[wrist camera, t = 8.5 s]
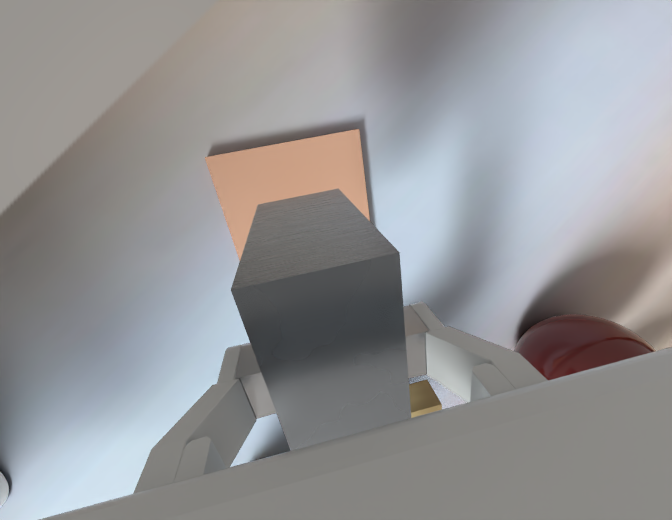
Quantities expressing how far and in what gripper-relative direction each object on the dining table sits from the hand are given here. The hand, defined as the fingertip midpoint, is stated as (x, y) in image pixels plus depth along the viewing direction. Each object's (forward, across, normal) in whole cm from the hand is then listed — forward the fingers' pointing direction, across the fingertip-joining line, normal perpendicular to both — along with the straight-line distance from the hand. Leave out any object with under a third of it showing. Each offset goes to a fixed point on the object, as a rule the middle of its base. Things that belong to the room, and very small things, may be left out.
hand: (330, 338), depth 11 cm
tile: (+17, 0, 0) cm, 17 cm away
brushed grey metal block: (+6, 0, 0) cm, 6 cm away
